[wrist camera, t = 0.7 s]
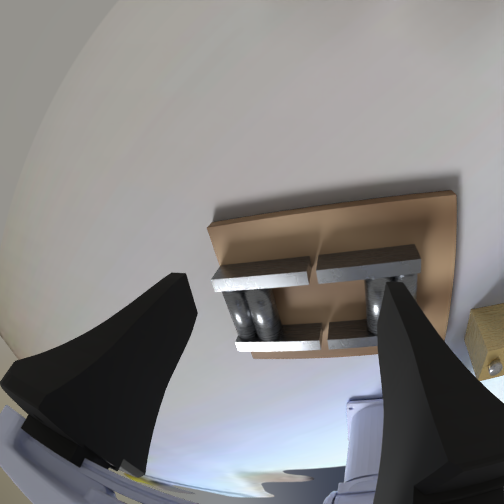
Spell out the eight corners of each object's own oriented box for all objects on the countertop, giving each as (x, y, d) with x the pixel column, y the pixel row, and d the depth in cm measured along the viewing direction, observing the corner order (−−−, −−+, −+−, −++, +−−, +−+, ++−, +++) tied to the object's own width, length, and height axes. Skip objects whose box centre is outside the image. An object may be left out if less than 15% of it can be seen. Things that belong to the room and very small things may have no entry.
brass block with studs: (507, 330, 19) (526, 374, 15) (464, 339, 21) (478, 387, 16) (516, 300, 18) (540, 344, 13) (470, 308, 20) (490, 357, 15)
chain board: (441, 338, 22) (443, 346, 21) (256, 351, 27) (253, 358, 27) (451, 190, 16) (456, 194, 15) (212, 222, 22) (206, 227, 21)
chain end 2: (412, 323, 21) (415, 341, 19) (330, 331, 23) (328, 349, 21) (414, 243, 18) (421, 258, 16) (318, 254, 20) (315, 270, 18)
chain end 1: (323, 331, 23) (320, 349, 21) (245, 334, 25) (238, 351, 24) (309, 255, 20) (306, 271, 19) (220, 265, 23) (210, 279, 21)
